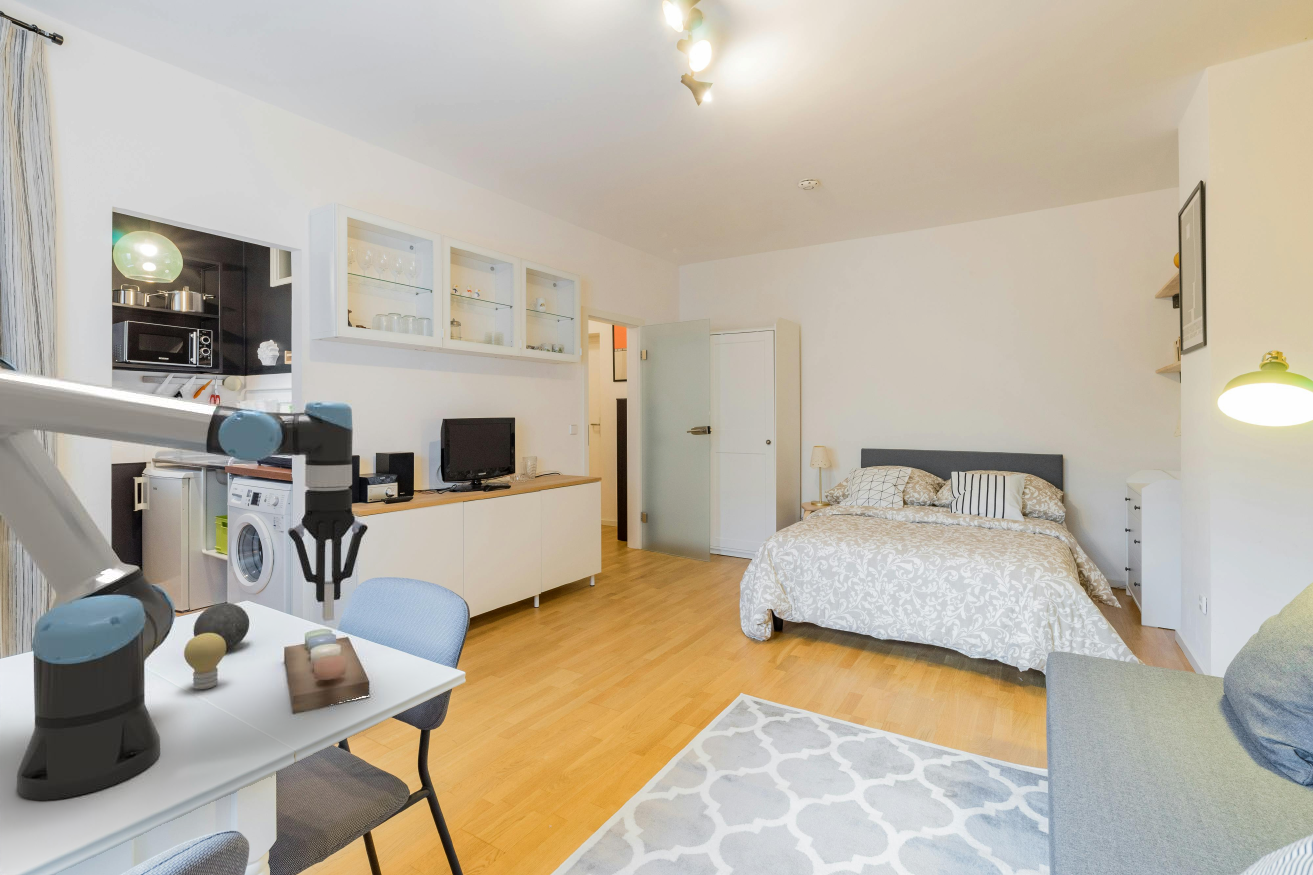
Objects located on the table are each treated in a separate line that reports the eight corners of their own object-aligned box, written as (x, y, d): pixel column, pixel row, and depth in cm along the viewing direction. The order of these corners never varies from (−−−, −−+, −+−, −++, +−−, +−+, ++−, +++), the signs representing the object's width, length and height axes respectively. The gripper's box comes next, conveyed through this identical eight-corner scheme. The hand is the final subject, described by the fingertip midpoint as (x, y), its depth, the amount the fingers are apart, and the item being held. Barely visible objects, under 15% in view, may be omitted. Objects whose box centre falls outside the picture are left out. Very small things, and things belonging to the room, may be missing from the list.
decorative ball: (199, 645, 140) (199, 600, 140) (252, 639, 144) (252, 595, 144) (188, 660, 131) (188, 612, 131) (245, 653, 135) (245, 607, 135)
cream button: (312, 668, 116) (311, 654, 116) (309, 660, 120) (309, 646, 120) (342, 663, 119) (342, 649, 119) (338, 655, 123) (338, 641, 123)
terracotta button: (315, 681, 110) (315, 667, 110) (312, 672, 115) (312, 658, 115) (347, 675, 113) (347, 661, 113) (343, 666, 117) (343, 652, 117)
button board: (292, 713, 108) (292, 695, 108) (284, 661, 131) (284, 646, 131) (369, 697, 114) (369, 680, 114) (348, 650, 138) (348, 636, 138)
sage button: (305, 651, 128) (305, 638, 128) (303, 643, 132) (303, 631, 132) (333, 646, 131) (333, 634, 131) (330, 639, 135) (330, 627, 135)
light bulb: (177, 689, 117) (176, 635, 117) (214, 677, 123) (214, 626, 122) (196, 696, 114) (195, 641, 114) (233, 684, 120) (233, 631, 119)
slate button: (308, 656, 122) (308, 643, 122) (306, 649, 126) (306, 636, 126) (337, 652, 125) (337, 638, 125) (334, 644, 129) (334, 631, 129)
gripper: (364, 484, 121) (363, 607, 121) (285, 487, 113) (284, 618, 114) (372, 488, 114) (371, 618, 115) (288, 491, 107) (288, 630, 107)
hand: (328, 618), depth 114 cm, fingers closed
